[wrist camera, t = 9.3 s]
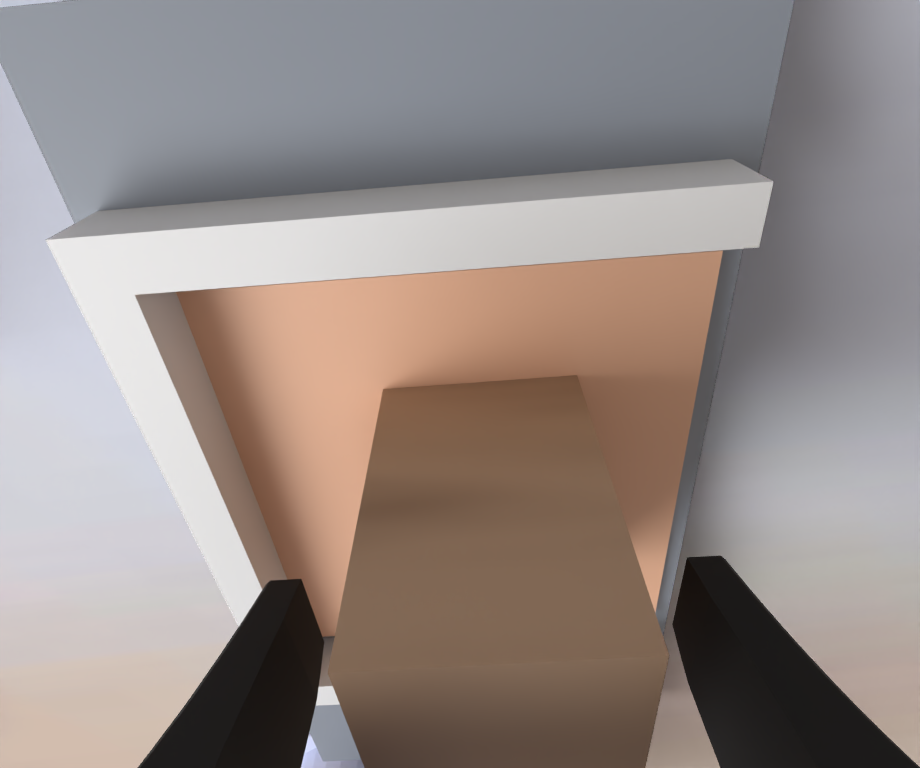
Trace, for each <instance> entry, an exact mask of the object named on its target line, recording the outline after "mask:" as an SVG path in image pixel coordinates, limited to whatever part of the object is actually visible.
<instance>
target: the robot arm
mask: <svg viewBox="0 0 920 768" xmlns="http://www.w3.org/2000/svg"><path fill="white" fill-rule="evenodd" d="M673 628H674V632H675V636H676V640H677V643H678V647H679V651H680V655H681V659H682V662H683V666H684V670H685V673H686V677H687V680H688V683H689V686H690V689H691V692H692V694H693V697H694V700H695V702H696V705H697V708H698V710H699V713H700V715H701V718H702V721H703V723H704V726H705V729H706V731H707V734H708V736H709V739H710V742H711V744H712V747H713V749H714V752H715V755H716V757H717V760H718V762H719V765H720V767H721V768H920V767H919V766H918V765H917V764H916V763H915V762H914V761H913V760H911V759H910V758H909V757H908V756H907V755H906V754H905V753H904V752H903V751H902V750H901V749H900V748H899V747H898V746H897V745H896V744H895V743H894V742H893V741H892V740H890V739H889V738H888V737H887V736H886V735H885V734H884V733H883V732H882V731H881V730H880V729H879V728H878V727H877V726H876V725H875V724H874V723H873V722H872V721H871V720H870V719H869V718H868V717H867V716H866V715H865V714H864V713H863V712H862V711H861V710H860V709H859V708H858V707H857V706H856V705H855V704H854V703H853V702H852V701H851V700H850V699H849V698H848V697H847V696H846V695H845V694H844V693H843V692H842V690H841V689H840V688H839V687H838V686H837V685H836V684H835V683H834V682H833V681H832V680H831V679H830V678H829V677H828V676H827V675H826V674H825V673H824V672H823V670H822V669H821V668H820V667H819V666H818V665H817V664H816V663H815V662H814V661H813V660H812V659H811V658H810V656H809V655H808V654H807V653H806V652H805V651H804V650H803V649H802V648H801V647H800V646H799V645H798V643H797V642H796V641H795V640H794V639H793V638H792V637H791V636H790V635H789V633H788V632H787V631H786V630H785V629H784V628H783V627H782V626H781V624H780V623H779V622H778V621H777V620H776V619H775V618H774V616H773V615H772V614H771V613H770V612H769V611H768V610H767V608H766V607H765V606H764V605H763V604H762V603H761V601H760V600H759V599H758V598H757V597H756V596H755V594H754V593H753V592H752V591H751V590H750V588H749V587H748V586H747V585H746V584H745V583H744V581H743V580H742V579H741V578H740V577H739V575H738V574H737V573H736V572H735V571H734V569H733V568H732V567H731V566H730V565H729V563H728V562H727V561H726V560H725V559H724V558H723V557H722V556H707V557H689V558H687V560H686V565H685V569H684V574H683V579H682V583H681V588H680V592H679V597H678V602H677V606H676V611H675V615H674V620H673ZM323 649H324V639H323V637H322V634H321V631H320V628H319V626H318V623H317V620H316V618H315V615H314V612H313V609H312V607H311V604H310V601H309V598H308V596H307V593H306V590H305V587H304V585H303V582H302V579H288V580H270V581H269V582H268V583H267V584H266V585H265V586H264V588H263V590H262V591H261V593H260V594H259V596H258V597H257V599H256V601H255V602H254V604H253V605H252V607H251V609H250V610H249V612H248V613H247V615H246V616H245V618H244V619H243V621H242V623H241V624H240V626H239V627H238V629H237V630H236V632H235V633H234V635H233V636H232V638H231V639H230V641H229V642H228V644H227V645H226V647H225V648H224V650H223V651H222V653H221V654H220V656H219V657H218V659H217V660H216V662H215V663H214V665H213V666H212V667H211V669H210V670H209V672H208V673H207V675H206V676H205V677H204V679H203V680H202V682H201V683H200V685H199V686H198V688H197V689H196V690H195V692H194V693H193V695H192V696H191V698H190V699H189V700H188V702H187V703H186V705H185V706H184V707H183V709H182V710H181V711H180V713H179V714H178V715H177V717H176V718H175V719H174V721H173V722H172V723H171V725H170V726H169V727H168V729H167V730H166V731H165V733H164V734H163V735H162V737H161V738H160V739H159V741H158V742H157V743H156V745H155V746H154V747H153V749H152V750H151V751H150V753H149V754H148V755H147V757H146V758H145V759H144V760H143V762H142V763H141V764H140V765H139V767H138V768H364V765H363V763H362V760H347V761H322V758H321V756H320V754H319V752H318V750H317V748H316V745H315V743H314V741H313V739H312V737H311V735H310V727H311V723H312V719H313V715H314V710H315V706H316V701H317V696H318V688H319V681H320V674H321V666H322V657H323Z"/></svg>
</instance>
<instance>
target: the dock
mask: <svg viewBox="0 0 920 768" xmlns="http://www.w3.org/2000/svg"><path fill="white" fill-rule="evenodd" d="M793 5H794V0H72V1H62V2H52V3H42V4H31V5H21V6H11V7H1V8H0V63H1V65H2V67H3V70H4V72H5V74H6V76H7V78H8V80H9V83H10V85H11V87H12V89H13V91H14V93H15V96H16V98H17V100H18V102H19V104H20V106H21V109H22V111H23V113H24V115H25V117H26V119H27V122H28V124H29V126H30V128H31V130H32V132H33V135H34V137H35V139H36V141H37V143H38V145H39V148H40V150H41V152H42V154H43V156H44V158H45V161H46V163H47V165H48V167H49V169H50V171H51V174H52V176H53V178H54V180H55V182H56V184H57V187H58V189H59V191H60V193H61V195H62V197H63V200H64V202H65V204H66V206H67V208H68V210H69V213H70V215H71V217H72V219H73V221H74V223H75V224H73V225H72V226H70V227H68V228H66V229H64V230H63V231H61V232H59V233H57V234H55V235H54V236H52V237H50V238H48V239H46V242H47V244H48V246H49V248H50V250H51V252H52V254H53V256H54V258H55V260H56V262H57V264H58V266H59V268H60V270H61V272H62V274H63V276H64V278H65V280H66V282H67V284H68V286H69V288H70V290H71V292H72V294H73V296H74V298H75V300H76V302H77V304H78V306H79V308H80V310H81V312H82V314H83V316H84V318H85V320H86V322H87V324H88V326H89V328H90V330H91V332H92V334H93V336H94V338H95V340H96V342H97V344H98V346H99V348H100V350H101V352H102V354H103V356H104V358H105V360H106V362H107V364H108V366H109V368H110V370H111V372H112V374H113V376H114V378H115V380H116V382H117V384H118V386H119V388H120V390H121V392H122V394H123V396H124V398H125V400H126V402H127V404H128V406H129V408H130V411H131V413H132V415H133V417H134V419H135V421H136V423H137V425H138V427H139V429H140V431H141V433H142V435H143V437H144V439H145V441H146V443H147V445H148V447H149V449H150V451H151V453H152V455H153V457H154V459H155V461H156V463H157V465H158V467H159V469H160V471H161V473H162V475H163V477H164V479H165V481H166V483H167V485H168V487H169V489H170V491H171V493H172V495H173V497H174V499H175V501H176V503H177V505H178V507H179V509H180V511H181V513H182V515H183V517H184V519H185V521H186V523H187V525H188V527H189V529H190V531H191V533H192V535H193V537H194V539H195V541H196V543H197V545H198V547H199V549H200V551H201V553H202V555H203V557H204V559H205V561H206V563H207V565H208V567H209V569H210V571H211V573H212V575H213V577H214V579H215V581H216V583H217V585H218V587H219V589H220V591H221V593H222V595H223V597H224V599H225V601H226V603H227V605H228V607H229V609H230V611H231V613H232V615H233V617H234V619H235V621H236V623H237V625H238V627H239V626H240V624H241V623H242V621H243V619H244V618H245V616H246V615H247V613H248V612H249V610H250V609H251V607H252V605H253V604H254V602H255V601H256V599H257V597H258V596H259V594H260V593H261V591H262V590H263V588H264V586H265V585H266V584H267V583H268V582H269V581H270V580H288V579H302V582H303V585H304V587H305V590H306V593H307V596H308V598H309V601H310V604H311V607H312V609H313V612H314V615H315V618H316V620H317V623H318V626H319V628H320V631H321V634H322V637H323V639H324V649H323V657H322V666H321V674H320V681H319V688H318V696H317V701H316V706H315V710H314V715H313V719H312V723H311V727H310V735H311V737H312V739H313V741H314V743H315V745H316V748H317V750H318V752H319V754H320V756H321V758H322V761H347V760H361V757H360V755H359V752H358V750H357V747H356V745H355V742H354V740H353V737H352V734H351V732H350V729H349V727H348V724H347V722H346V719H345V716H344V714H343V711H342V709H341V706H340V704H339V701H338V699H337V696H336V693H335V691H334V688H333V686H332V683H331V681H330V678H329V675H328V668H329V663H330V657H331V652H332V647H333V642H334V637H335V632H336V627H337V622H338V617H339V612H340V606H341V601H342V596H343V591H344V586H345V581H346V576H347V571H348V566H349V561H350V555H351V550H352V545H353V540H354V535H355V530H356V525H357V520H358V515H359V510H360V504H361V499H362V494H363V489H364V484H365V479H366V474H367V469H368V464H369V458H370V453H371V448H372V443H373V438H374V433H375V428H376V423H377V418H378V413H379V407H380V402H381V397H382V392H383V389H392V388H406V387H420V386H434V385H447V384H461V383H475V382H489V381H503V380H516V379H530V378H544V377H558V376H572V375H577V377H578V380H579V383H580V386H581V389H582V392H583V395H584V398H585V401H586V404H587V407H588V410H589V413H590V416H591V419H592V422H593V425H594V428H595V431H596V434H597V437H598V440H599V443H600V446H601V450H602V453H603V456H604V459H605V462H606V465H607V468H608V471H609V474H610V477H611V480H612V483H613V486H614V489H615V492H616V495H617V498H618V501H619V504H620V507H621V510H622V513H623V516H624V519H625V522H626V525H627V529H628V532H629V535H630V538H631V541H632V544H633V547H634V550H635V553H636V556H637V559H638V562H639V565H640V568H641V571H642V574H643V577H644V580H645V583H646V586H647V589H648V592H649V595H650V598H651V601H652V604H653V608H654V611H655V614H656V617H657V620H658V623H659V626H660V629H661V632H662V635H663V634H664V629H665V624H666V619H667V615H668V610H669V605H670V600H671V595H672V590H673V586H674V581H675V576H676V571H677V566H678V561H679V556H680V552H681V547H682V542H683V537H684V532H685V527H686V523H687V518H688V513H689V508H690V503H691V498H692V494H693V489H694V484H695V479H696V474H697V469H698V464H699V460H700V455H701V450H702V445H703V440H704V435H705V431H706V426H707V421H708V416H709V411H710V406H711V402H712V397H713V392H714V387H715V382H716V377H717V373H718V368H719V363H720V358H721V353H722V348H723V343H724V339H725V334H726V329H727V324H728V319H729V314H730V310H731V305H732V300H733V295H734V290H735V285H736V281H737V276H738V271H739V266H740V261H741V256H742V251H743V249H745V248H758V247H759V245H760V241H761V236H762V232H763V227H764V223H765V218H766V214H767V209H768V205H769V200H770V196H771V191H772V187H773V182H774V181H772V180H770V179H768V178H766V177H765V176H763V175H761V174H759V169H760V164H761V159H762V155H763V150H764V145H765V140H766V135H767V130H768V126H769V121H770V116H771V111H772V106H773V101H774V97H775V92H776V87H777V82H778V77H779V72H780V68H781V63H782V58H783V53H784V48H785V43H786V38H787V34H788V29H789V24H790V19H791V14H792V9H793Z"/></svg>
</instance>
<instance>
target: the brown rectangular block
mask: <svg viewBox="0 0 920 768" xmlns="http://www.w3.org/2000/svg"><path fill="white" fill-rule="evenodd" d="M668 659H669V653H668V650H667V647H666V644H665V641H664V638H663V635H662V632H661V629H660V626H659V623H658V620H657V617H656V614H655V611H654V608H653V604H652V601H651V598H650V595H649V592H648V589H647V586H646V583H645V580H644V577H643V574H642V571H641V568H640V565H639V562H638V559H637V556H636V553H635V550H634V547H633V544H632V541H631V538H630V535H629V532H628V529H627V525H626V522H625V519H624V516H623V513H622V510H621V507H620V504H619V501H618V498H617V495H616V492H615V489H614V486H613V483H612V480H611V477H610V474H609V471H608V468H607V465H606V462H605V459H604V456H603V453H602V450H601V446H600V443H599V440H598V437H597V434H596V431H595V428H594V425H593V422H592V419H591V416H590V413H589V410H588V407H587V404H586V401H585V398H584V395H583V392H582V389H581V386H580V383H579V380H578V377H577V375H572V376H558V377H544V378H530V379H516V380H503V381H489V382H475V383H461V384H447V385H434V386H420V387H406V388H392V389H383V392H382V397H381V402H380V407H379V413H378V418H377V423H376V428H375V433H374V438H373V443H372V448H371V453H370V458H369V464H368V469H367V474H366V479H365V484H364V489H363V494H362V499H361V504H360V510H359V515H358V520H357V525H356V530H355V535H354V540H353V545H352V550H351V555H350V561H349V566H348V571H347V576H346V581H345V586H344V591H343V596H342V601H341V606H340V612H339V617H338V622H337V627H336V632H335V637H334V642H333V647H332V652H331V657H330V663H329V668H328V675H329V678H330V681H331V683H332V686H333V688H334V691H335V693H336V696H337V699H338V701H339V704H340V706H341V709H342V711H343V714H344V716H345V719H346V722H347V724H348V727H349V729H350V732H351V734H352V737H353V740H354V742H355V745H356V747H357V750H358V752H359V755H360V757H361V760H362V763H363V765H364V768H645V766H646V762H647V757H648V752H649V748H650V743H651V738H652V734H653V729H654V724H655V720H656V715H657V710H658V706H659V701H660V696H661V692H662V687H663V683H664V678H665V673H666V669H667V664H668Z"/></svg>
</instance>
